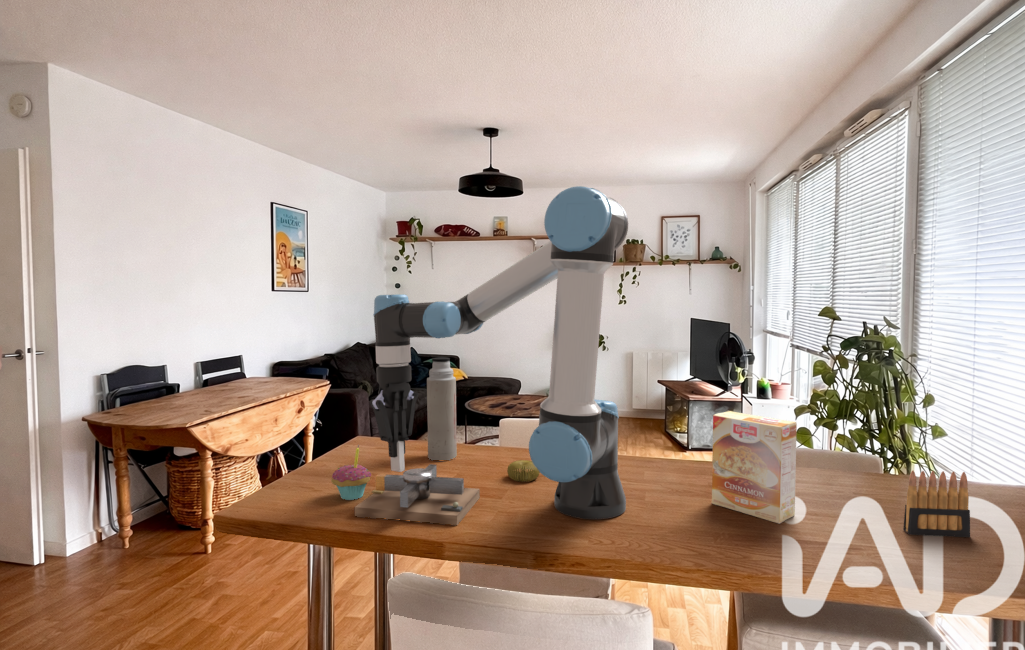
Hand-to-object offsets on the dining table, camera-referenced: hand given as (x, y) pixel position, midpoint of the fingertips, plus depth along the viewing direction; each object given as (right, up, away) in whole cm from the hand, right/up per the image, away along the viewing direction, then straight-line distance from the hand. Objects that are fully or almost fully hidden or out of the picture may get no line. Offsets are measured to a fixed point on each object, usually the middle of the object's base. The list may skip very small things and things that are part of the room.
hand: (397, 470), depth 128 cm
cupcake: (-11, -7, +2) cm, 13 cm away
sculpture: (+28, -6, +14) cm, 32 cm away
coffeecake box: (+76, -7, -7) cm, 76 cm away
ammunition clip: (+105, -7, -20) cm, 107 cm away
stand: (+6, -7, -4) cm, 10 cm away
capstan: (+6, -4, -5) cm, 8 cm away
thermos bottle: (+6, -5, +33) cm, 34 cm away
